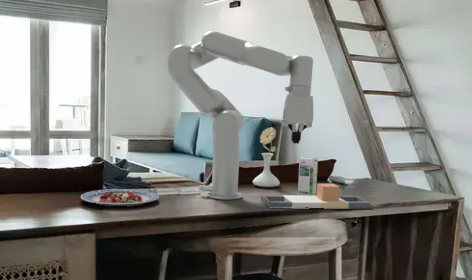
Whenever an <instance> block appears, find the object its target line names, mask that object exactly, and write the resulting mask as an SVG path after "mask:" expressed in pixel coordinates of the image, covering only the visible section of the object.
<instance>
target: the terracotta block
mask: <svg viewBox="0 0 472 280" xmlns="http://www.w3.org/2000/svg"><path fill="white" fill-rule="evenodd" d="M316 195H317V198H318V199H320V200H322V201H339V196H340V186H339V185H337V184H335V183H317V184H316Z"/></svg>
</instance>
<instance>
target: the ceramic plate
mask: <svg viewBox="0 0 472 280" xmlns="http://www.w3.org/2000/svg"><path fill="white" fill-rule="evenodd" d="M159 198H160V195H159V194H157V193H155V192H153V191H149V190H143V189H134V188H133V189H132V188H131V189H129V188H127V189H126V188H112V189H111V188H110V189H99V190H92V191H87V192H84V193H83V194H81V195H80V199H81V200H82V201H85V202H88V203H94V204H95V203H96V204H95V205H98V204H99V205H98V206H102V205H105V206H104V207H111V206H127V207H136V206H141V205H144V204H145V203H150V202H154V201H156V200H158V199H159ZM135 205H136V206H135Z"/></svg>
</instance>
